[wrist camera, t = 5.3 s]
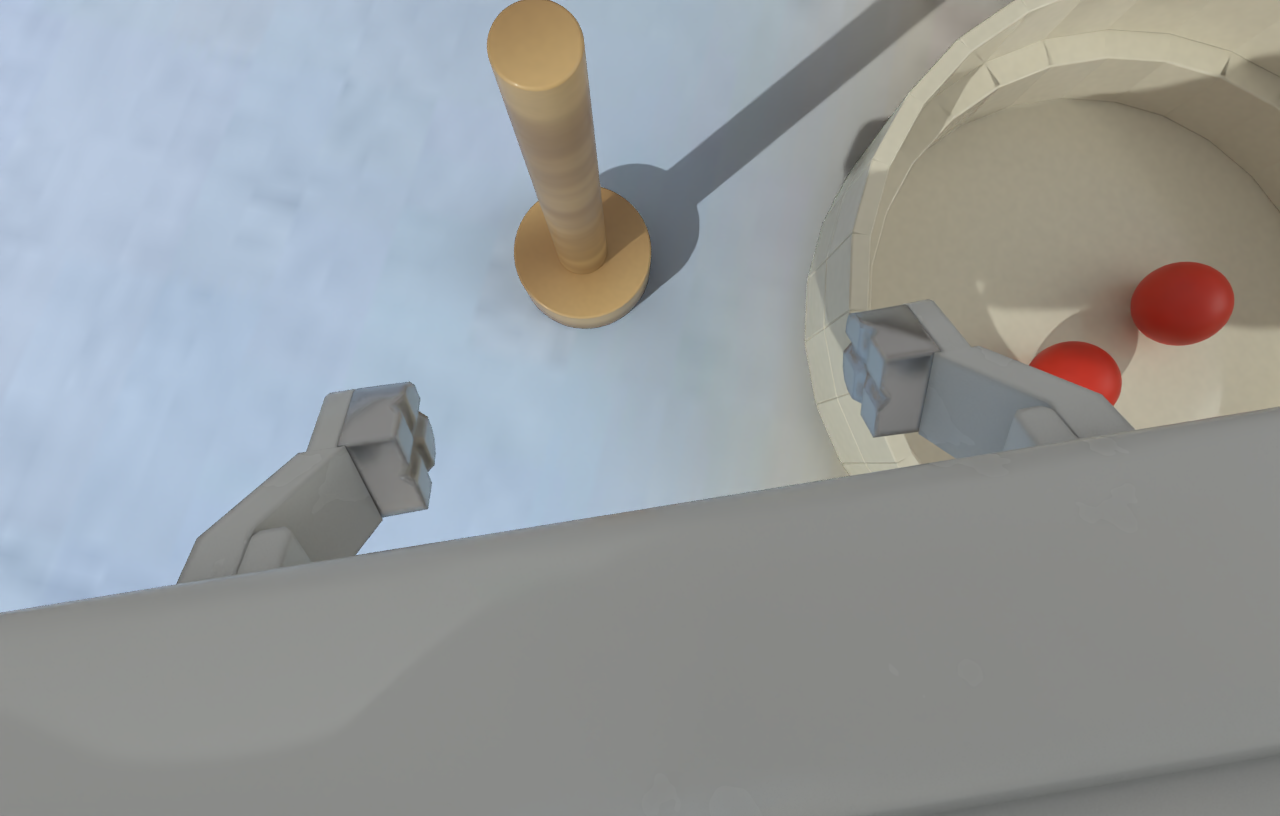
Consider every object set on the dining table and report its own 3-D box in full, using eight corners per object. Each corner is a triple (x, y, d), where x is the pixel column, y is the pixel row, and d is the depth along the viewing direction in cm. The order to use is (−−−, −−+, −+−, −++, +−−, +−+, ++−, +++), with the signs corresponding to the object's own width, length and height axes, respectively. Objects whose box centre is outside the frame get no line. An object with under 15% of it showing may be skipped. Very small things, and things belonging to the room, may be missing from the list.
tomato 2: (1205, 322, 28) (1275, 304, 25) (1144, 367, 27) (1207, 355, 24) (1157, 259, 28) (1220, 234, 25) (1095, 303, 28) (1152, 283, 25)
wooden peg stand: (675, 281, 28) (724, 76, 13) (569, 354, 28) (499, 228, 13) (601, 179, 29) (569, -135, 14) (496, 250, 28) (346, 9, 13)
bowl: (1449, 398, 28) (1692, 379, 22) (1020, 722, 27) (1142, 803, 21) (1116, -27, 29) (1253, -165, 23) (692, 266, 28) (710, 207, 22)
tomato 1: (1102, 397, 27) (1160, 388, 24) (1040, 443, 27) (1090, 440, 24) (1054, 332, 27) (1106, 316, 24) (991, 378, 27) (1036, 367, 24)
